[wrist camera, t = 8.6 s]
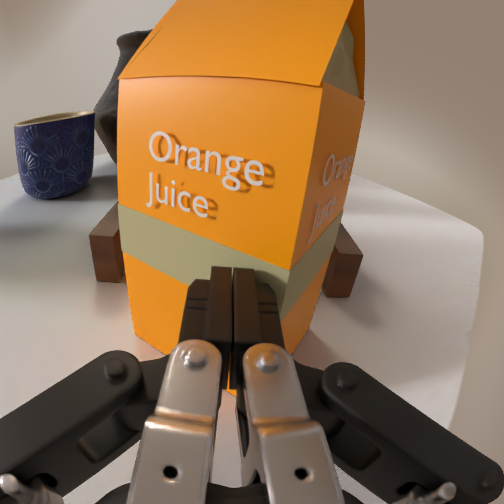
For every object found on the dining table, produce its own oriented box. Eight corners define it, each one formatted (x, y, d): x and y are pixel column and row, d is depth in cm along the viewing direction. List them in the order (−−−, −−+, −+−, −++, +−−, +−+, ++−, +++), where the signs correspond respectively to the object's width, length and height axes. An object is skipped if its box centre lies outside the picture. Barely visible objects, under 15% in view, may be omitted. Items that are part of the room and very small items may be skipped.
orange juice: (205, 279, 23) (230, 2, 14) (311, 326, 20) (379, 8, 10) (131, 335, 17) (131, -33, 7) (256, 410, 14) (341, -73, 4)
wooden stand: (348, 297, 23) (378, 205, 20) (96, 280, 21) (82, 181, 17) (322, 243, 31) (338, 169, 27) (127, 229, 29) (125, 151, 25)
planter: (21, 187, 37) (16, 121, 32) (88, 172, 45) (87, 109, 39) (20, 213, 30) (10, 128, 24) (104, 193, 37) (103, 113, 32)
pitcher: (167, 148, 64) (176, 41, 52) (231, 170, 52) (248, 31, 40) (80, 162, 50) (85, 38, 38) (121, 190, 38) (131, 10, 26)
